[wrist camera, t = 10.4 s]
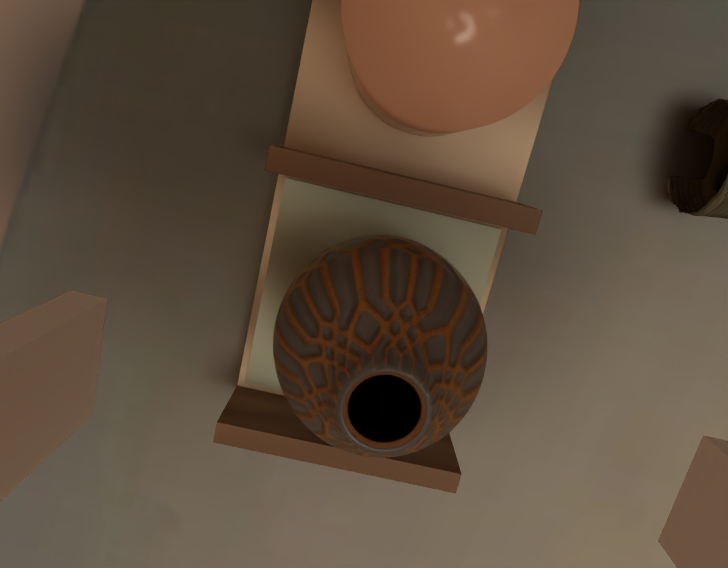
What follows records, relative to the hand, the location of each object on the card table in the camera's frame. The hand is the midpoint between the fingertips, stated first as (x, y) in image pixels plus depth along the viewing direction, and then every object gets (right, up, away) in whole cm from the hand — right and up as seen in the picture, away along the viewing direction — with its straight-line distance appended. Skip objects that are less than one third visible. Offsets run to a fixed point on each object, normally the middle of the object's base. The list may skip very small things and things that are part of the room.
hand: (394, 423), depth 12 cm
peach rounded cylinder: (+2, +11, +8) cm, 14 cm away
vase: (0, +2, +10) cm, 10 cm away
